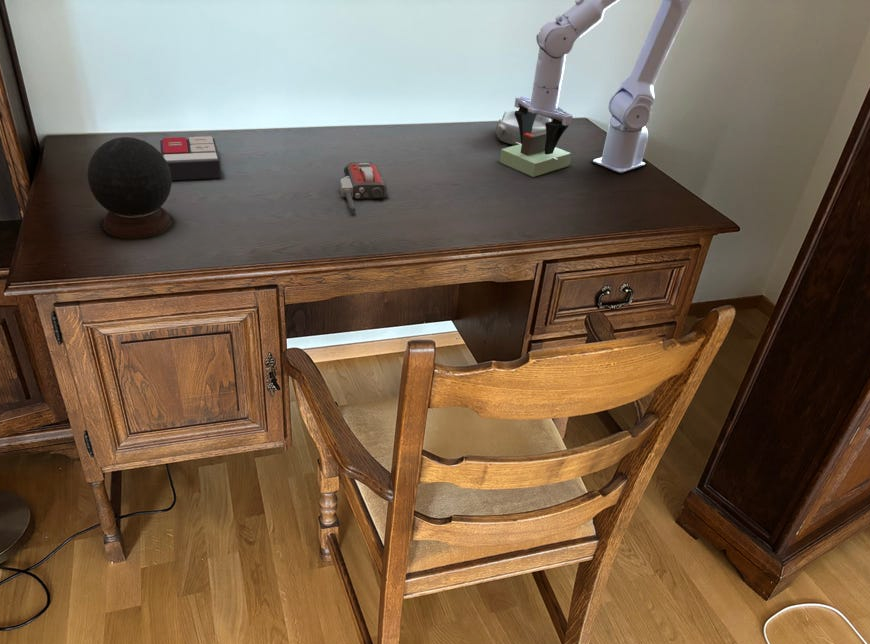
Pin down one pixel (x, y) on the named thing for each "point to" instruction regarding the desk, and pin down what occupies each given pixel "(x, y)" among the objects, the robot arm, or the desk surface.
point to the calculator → (191, 157)
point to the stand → (534, 160)
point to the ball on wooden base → (131, 187)
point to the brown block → (533, 142)
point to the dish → (516, 127)
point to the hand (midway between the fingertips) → (536, 148)
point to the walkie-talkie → (362, 182)
